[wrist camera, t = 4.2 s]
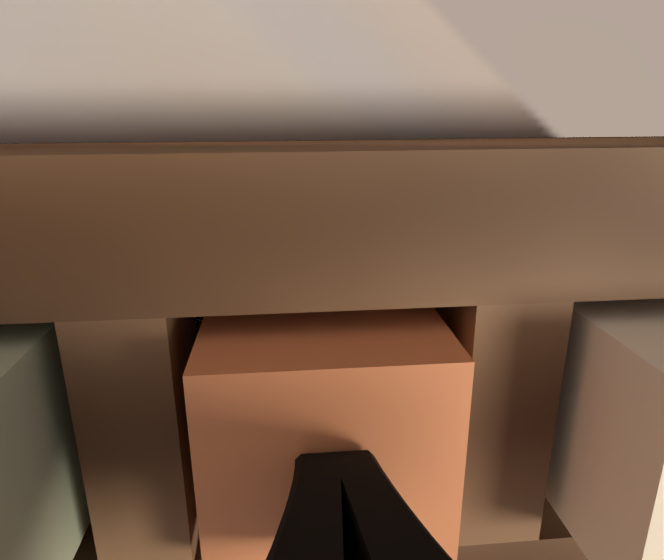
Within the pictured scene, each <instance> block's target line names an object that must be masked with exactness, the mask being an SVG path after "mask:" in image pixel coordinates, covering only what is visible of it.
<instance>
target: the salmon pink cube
mask: <svg viewBox="0 0 664 560" xmlns="http://www.w3.org/2000/svg"><path fill="white" fill-rule="evenodd" d="M474 365H475V362H474V360H473V359H472V358H471V356H470V355H469V354H468V353H467V351H466V350H465V349H464V347H463V346H462V345H461V343H460V342H459V341H458V339H457V338H456V337H455V335H454V334H453V333H452V331H451V330H450V329H449V327H448V326H447V325H446V323H445V322H444V321H443V319H442V318H441V317H440V315H439V314H438V313H437V311H436V310H435V309H434V308H408V309H382V310H357V311H331V312H306V313H280V314H255V315H229V316H204V317H203V320H202V323H201V326H200V328H199V331H198V334H197V337H196V340H195V343H194V345H193V348H192V351H191V354H190V357H189V359H188V362H187V365H186V368H185V371H184V373H183V376H182V377H183V386H184V396H185V405H186V415H187V424H188V434H189V443H190V453H191V462H192V472H193V482H194V491H195V501H196V510H197V520H198V529H199V539H200V548H201V558H202V560H266V558H267V556H268V553H269V551H270V549H271V546H272V543H273V541H274V538H275V535H276V533H277V530H278V527H279V524H280V521H281V518H282V516H283V513H284V510H285V507H286V503H287V500H288V496H289V493H290V489H291V485H292V481H293V475H294V469H295V459H296V458H297V457H298V456H299V455H300V454H307V453H323V452H340V451H356V450H369V451H370V452H371V453H372V454H373V455H374V456H375V458H376V460H377V461H378V463H379V465H380V466H381V468H382V469H383V471H384V472H385V474H386V475H387V477H388V478H389V480H390V481H391V483H392V484H393V485H394V487H395V488H396V490H397V491H398V492H399V494H400V495H401V497H402V498H403V499H404V501H405V502H406V503H407V505H408V506H409V507H410V509H411V510H412V511H413V512H414V514H415V515H416V516H417V517H418V519H419V520H420V521H421V522H422V524H423V525H424V526H425V527H426V529H427V530H428V531H429V532H430V534H431V535H432V536H433V537H434V539H435V540H436V541H437V542H438V543H439V544H440V546H441V547H442V548H443V549H444V550H445V551H446V553H447V554H448V555H449V556H450V557H451V558H452V559H453V560H457V556H458V545H459V533H460V522H461V511H462V500H463V488H464V477H465V466H466V455H467V444H468V432H469V421H470V410H471V399H472V387H473V376H474Z"/></svg>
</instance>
